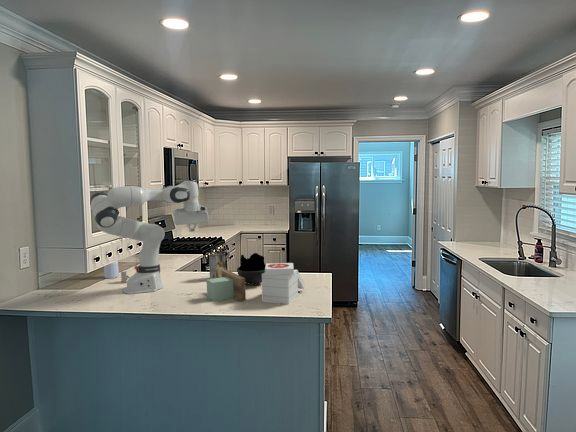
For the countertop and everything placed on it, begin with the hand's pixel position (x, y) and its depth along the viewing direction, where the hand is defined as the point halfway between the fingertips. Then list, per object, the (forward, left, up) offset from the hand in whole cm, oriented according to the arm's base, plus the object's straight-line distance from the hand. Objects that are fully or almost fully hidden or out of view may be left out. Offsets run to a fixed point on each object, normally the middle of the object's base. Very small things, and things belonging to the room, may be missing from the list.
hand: (192, 231), depth 256 cm
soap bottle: (-37, +60, -34) cm, 78 cm away
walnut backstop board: (+13, -27, -34) cm, 46 cm away
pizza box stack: (+36, -44, -34) cm, 66 cm away
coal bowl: (+34, -11, -34) cm, 50 cm away
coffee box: (+21, +15, -34) cm, 43 cm away
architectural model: (-32, +40, -35) cm, 62 cm away
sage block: (+6, -27, -34) cm, 44 cm away
